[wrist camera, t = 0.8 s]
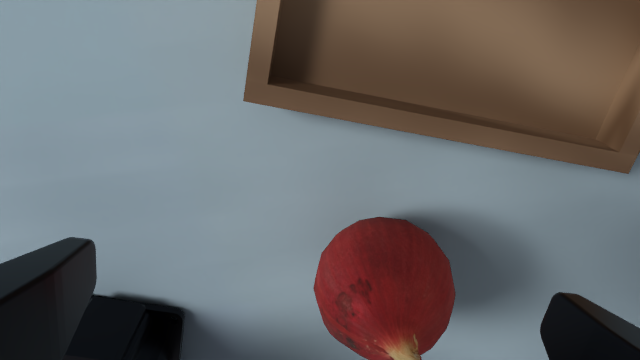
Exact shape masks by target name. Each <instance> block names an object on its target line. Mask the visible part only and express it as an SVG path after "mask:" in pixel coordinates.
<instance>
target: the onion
mask: <svg viewBox="0 0 640 360" xmlns="http://www.w3.org/2000/svg"><path fill="white" fill-rule="evenodd" d="M314 292H315V296H316V300H317V303H318V306H319V309H320V313H321V316H322V319H323V322H324V324H325V326H326V328H327V329H328V331H329V333H330V334H331V335H332V336H333V337H335V338H336V339H337V340H338V341H339V342H341V343H342V344H344V345H345V346H347V347H348V348H350V349H351V350H353V351H354V352H356V353H357V354H359V355H360V356H362V357H364V358H366V359H368V360H421V356H420V355H422V354H423V353H425V352H426V351H428V350H430V349H431V348H432V347H433V346H434V345H435V343H436V342H437V341H438V339H439V338H440V337H441V335H442V334H443V333H444V331H445V330H446V328H447V326H448V324H449V320H450V317H451V313H452V309H453V305H454V300H455V289H454V284H453V279H452V273H451V268H450V263H449V260H448V258H447V257H446V256H445V254H444V253H443V252H442V250H441V249H440V247H439V246H438V245H437V243H436V242H435V240H434V239H433V238H432V237H431V236H430V235H429V234H428V233H427V232H425V231H424V230H422V229H420V228H419V227H417V226H415V225H413V224H412V223H410V222H408V221H407V220H401V219H392V218H384V217H376V218H370V219H364V220H359V221H357V222H356V223H354V224H352V225H350V226H349V227H347V228H345V229H344V230H342V231H341V232H339V233H338V234H337V235H336V236H335V237H334V238H333V240H332V241H331V242H330V243H329V245H328V246H327V247H326V248H325V250H324V251H323V252H322V254H321V258H320V262H319V266H318V270H317V274H316V278H315V284H314Z"/></svg>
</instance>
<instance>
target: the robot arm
mask: <svg viewBox="0 0 640 360" xmlns="http://www.w3.org/2000/svg"><path fill="white" fill-rule="evenodd" d="M96 278H97V275H96V249H95V244H94V242H93V241H92V240H90V239H84V238H75V237H69V238H66V239H63V240H61V241H58V242H56V243H53V244H50V245H48V246H45V247H43V248H40V249H38V250H35V251H32V252H30V253H27V254H25V255H22V256H19V257H17V258H14V259H12V260H9V261H6V262H4V263H1V264H0V360H180V357H181V348H182V338H183V328H184V319H185V316H184V313H183V311H181V310H180V309H177V308H172V307H165V306H158V305H151V304H144V303H137V302H130V301H123V300H116V299H109V298H102V297H95V296H92V293H93V291H94V288H95V285H96ZM171 317H176V318H177V319H172V318H171ZM540 333H541V338H542V341H543V344H544V346H545V349H546V352H547V355H548V357H549V360H640V328H638V327H636V326H635V325H633V324H631V323H629V322H627V321H626V320H624V319H622V318H620V317H618V316H616V315H615V314H613V313H611V312H609V311H607V310H606V309H604V308H602V307H600V306H598V305H597V304H595V303H593V302H591V301H589V300H587V299H586V298H584V297H582V296H580V295H578V294H572V293H563V292H559V293H556V294H555V295H554V296H553V297H552V299H551V301H550V304H549V306H548V309H547V311H546V313H545V316H544V318H543V321H542V323H541V328H540Z"/></svg>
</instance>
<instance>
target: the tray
mask: <svg viewBox="0 0 640 360" xmlns="http://www.w3.org/2000/svg"><path fill="white" fill-rule="evenodd" d="M243 101H246V102H251V103H256V104H262V105H267V106H272V107H278V108H283V109H288V110H293V111H299V112H304V113H309V114H315V115H320V116H325V117H331V118H336V119H341V120H346V121H352V122H357V123H362V124H368V125H373V126H378V127H383V128H389V129H394V130H399V131H405V132H410V133H415V134H420V135H426V136H431V137H436V138H442V139H447V140H452V141H457V142H463V143H468V144H473V145H479V146H484V147H489V148H495V149H500V150H505V151H510V152H516V153H521V154H526V155H532V156H537V157H542V158H547V159H553V160H558V161H563V162H569V163H574V164H579V165H584V166H590V167H595V168H600V169H606V170H611V171H616V172H622V173H627V174H629V172H630V170H631V168H632V166H633V164H634V162H635V160H636V158H637V156H638V154H639V152H640V0H257V4H256V11H255V19H254V26H253V33H252V41H251V48H250V55H249V63H248V70H247V78H246V85H245V92H244V100H243Z"/></svg>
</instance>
